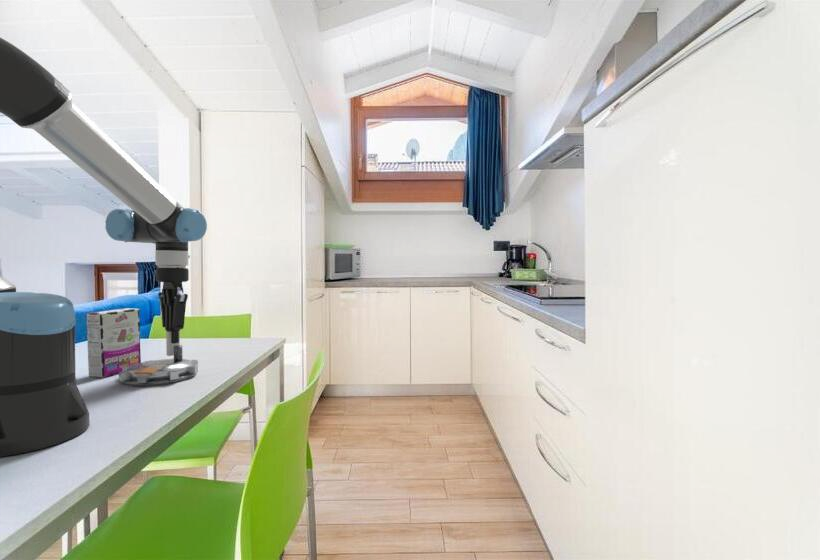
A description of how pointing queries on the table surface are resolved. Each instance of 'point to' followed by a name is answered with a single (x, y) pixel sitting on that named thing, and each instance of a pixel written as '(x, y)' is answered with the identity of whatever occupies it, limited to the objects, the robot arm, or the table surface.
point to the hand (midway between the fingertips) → (173, 354)
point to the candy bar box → (112, 341)
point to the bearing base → (159, 381)
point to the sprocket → (160, 368)
